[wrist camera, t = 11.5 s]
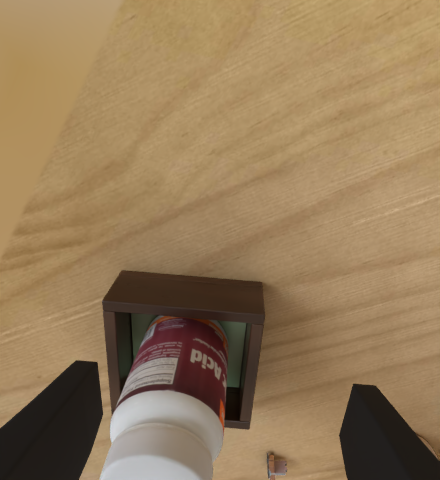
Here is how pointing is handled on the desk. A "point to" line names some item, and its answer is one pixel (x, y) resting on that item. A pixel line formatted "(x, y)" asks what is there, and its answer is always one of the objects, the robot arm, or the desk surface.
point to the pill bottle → (171, 404)
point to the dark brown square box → (187, 306)
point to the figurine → (275, 467)
